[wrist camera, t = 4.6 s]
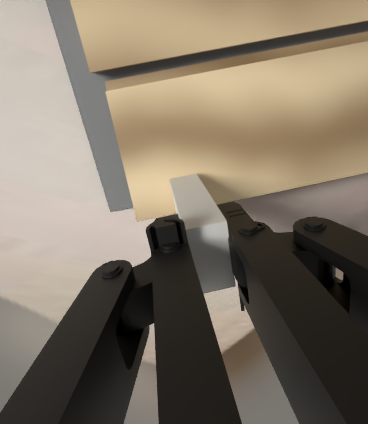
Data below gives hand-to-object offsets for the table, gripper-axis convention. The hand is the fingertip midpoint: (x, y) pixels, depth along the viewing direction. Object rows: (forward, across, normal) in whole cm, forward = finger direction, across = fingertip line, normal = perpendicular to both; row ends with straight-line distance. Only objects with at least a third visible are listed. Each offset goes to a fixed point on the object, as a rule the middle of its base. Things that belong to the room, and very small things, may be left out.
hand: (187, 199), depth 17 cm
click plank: (+2, +5, +3) cm, 6 cm away
